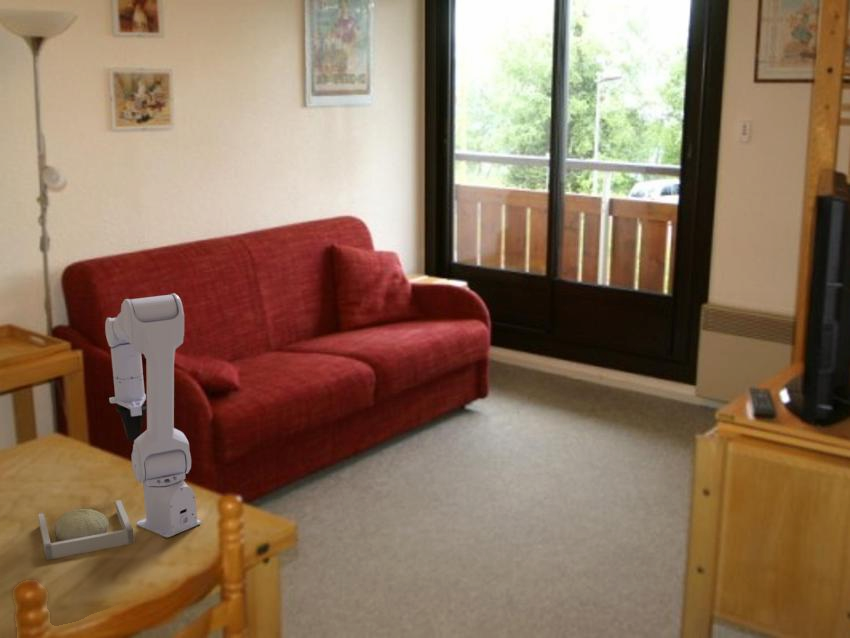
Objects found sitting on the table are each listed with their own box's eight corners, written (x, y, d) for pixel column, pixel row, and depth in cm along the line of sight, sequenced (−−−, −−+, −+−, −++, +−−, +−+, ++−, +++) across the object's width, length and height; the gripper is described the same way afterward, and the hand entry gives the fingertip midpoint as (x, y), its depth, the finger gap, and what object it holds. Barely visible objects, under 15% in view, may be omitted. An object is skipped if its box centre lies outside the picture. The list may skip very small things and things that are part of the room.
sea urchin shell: (98, 540, 187) (65, 508, 186) (72, 566, 189) (39, 536, 189) (121, 518, 196) (90, 488, 195) (96, 544, 198) (65, 514, 198)
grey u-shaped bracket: (134, 543, 190) (133, 530, 189) (46, 559, 184) (45, 546, 183) (121, 511, 203) (120, 499, 202) (39, 526, 197) (38, 514, 196)
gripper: (102, 368, 215) (108, 431, 218) (112, 387, 202) (118, 454, 205) (137, 364, 218) (143, 426, 221) (150, 382, 205) (155, 448, 208)
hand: (133, 439), depth 213 cm, fingers closed
